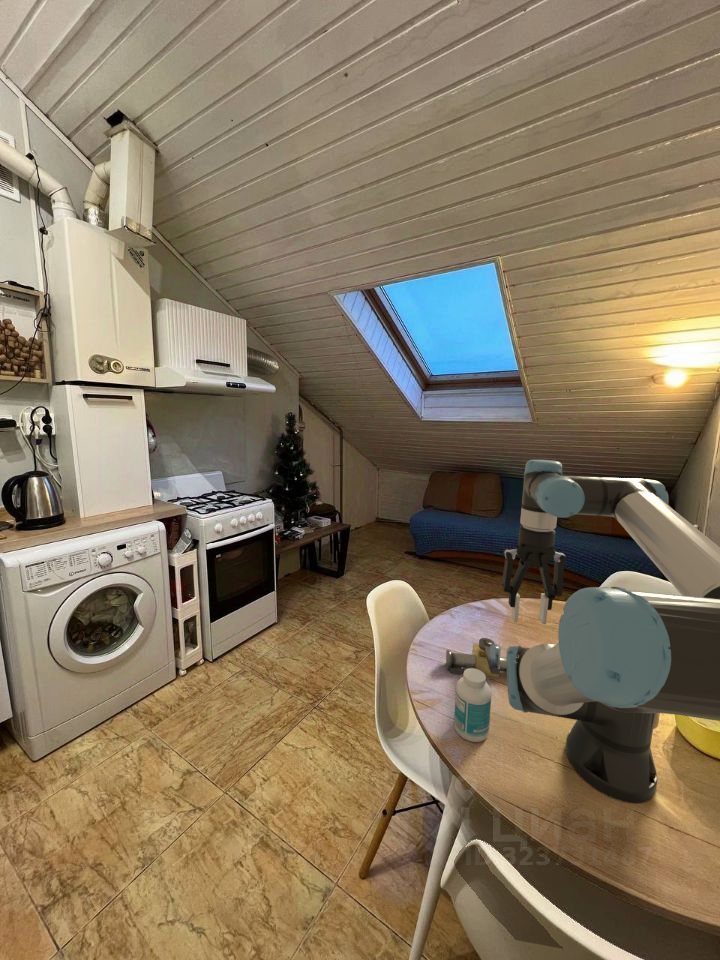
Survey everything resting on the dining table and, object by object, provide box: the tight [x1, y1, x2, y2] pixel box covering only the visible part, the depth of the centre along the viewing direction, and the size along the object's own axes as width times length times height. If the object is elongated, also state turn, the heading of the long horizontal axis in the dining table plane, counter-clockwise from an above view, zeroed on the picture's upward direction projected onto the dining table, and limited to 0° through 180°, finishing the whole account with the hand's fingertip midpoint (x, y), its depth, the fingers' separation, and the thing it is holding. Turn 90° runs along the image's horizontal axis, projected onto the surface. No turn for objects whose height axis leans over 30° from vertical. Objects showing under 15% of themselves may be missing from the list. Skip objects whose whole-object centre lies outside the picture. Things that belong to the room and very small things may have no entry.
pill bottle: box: [453, 668, 492, 743], centre depth 82 cm, size 8×7×14 cm
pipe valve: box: [445, 643, 507, 680], centre depth 102 cm, size 6×21×7 cm, turn 83°
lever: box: [478, 637, 502, 676], centre depth 97 cm, size 13×4×6 cm, turn 173°
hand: (528, 620), depth 90 cm, fingers open, 6 cm apart
